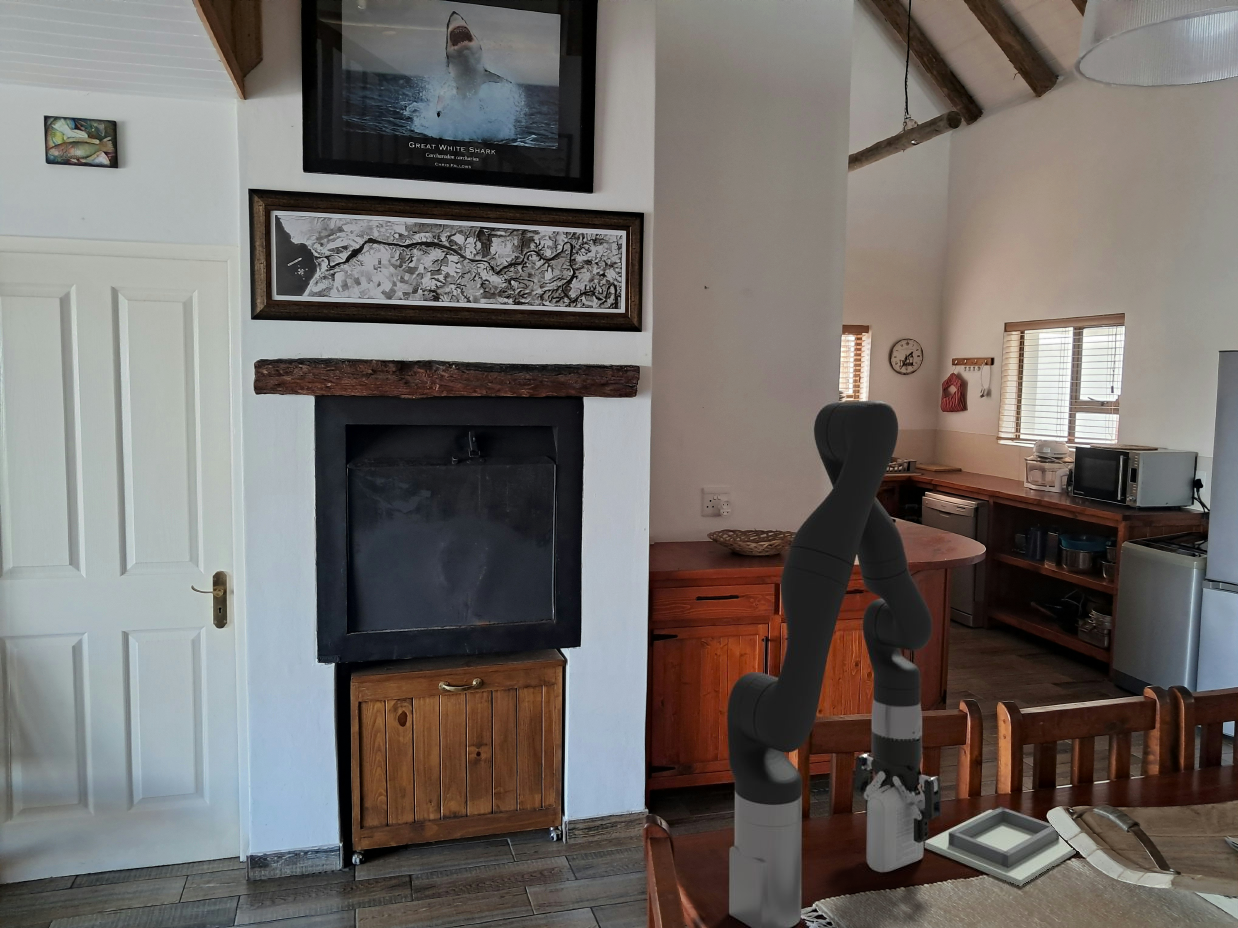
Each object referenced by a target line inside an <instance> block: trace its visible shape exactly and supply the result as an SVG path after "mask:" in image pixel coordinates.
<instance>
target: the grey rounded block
mask: <svg viewBox="0 0 1238 928" xmlns="http://www.w3.org/2000/svg"><path fill="white" fill-rule="evenodd" d="M911 796H912V797H915V794H914V792H912V793H911ZM918 806H919V805H918ZM914 818H916V817H915V815H914V813H913V811H912V809H911V808H910V806H908V805H907V804H906V803H905V801H904V799H903V797H902V795H901V794H900V792H899V791H898V789H897V788H895V787H892V788H891V786H890V785H886V786H884V787H882V788H880V789H879V790H877V791H876V792H874V793H873V794H872V795H871V796H870V798H869V799H868V803H867V818H866V863H867V864H868V866H869V868H871V869H872V870H873V871H875V872H877V873H878V872H879V873H887V872H891V871H894V870H896V869H899V868H902V867H905V866H907V865H911V864H913V863H915V862H917V861H919V860H921V859H922V858H924V845H925V841H923V842H921V843H917V842H915V841H914Z"/></svg>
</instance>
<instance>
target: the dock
mask: <svg viewBox="0 0 1238 928" xmlns="http://www.w3.org/2000/svg"><path fill="white" fill-rule="evenodd" d="M1051 824H1052V823H1048V822H1046V821H1043V820H1040V819H1037V818H1035V817H1031V816H1028V815H1025V814H1023V813H1019V812H1017V811H1014V810H1012V809H1011V810H1010V809H1008V808H1005V807H1002V806H1000V807H997V808H996V809H994V810H992V809H989V810H986V811H985V812H982V813H981V814H978V815H977V816H974V817H972V818H970V819H967V820H966V821H965V822H962V823H960V824H958V825H956V826H954V827H951V828H950V829H947V830H946V831H943V832H941V833H939V834H937V835H935V836H933V837H931V838H929V839H927V840H924V849H927V850H930V851H932V852H935V853H937V854H939V855H942V856H944V857H947V858H950V859H951V860H954V861H957V862H959V863H961V864H964V865H967V866H969V867H972V868H974V869H977V870H979V871H981V872H983V873H986V874H988V875H990V876H994V878H995V877H996V878H998V879H1001V880H1003V881H1005V880H1006V882H1008V883H1010V882H1011V883H1010V884H1012V883H1014V884H1013V885H1015V884H1017V885H1019V886H1018V887H1020V888H1021V887H1023V886H1024V885H1025V884H1024V883H1026V882H1028V881H1029V880H1031V879H1033V878H1034V877H1035V876H1037V875H1039V874H1040V873H1042V872H1044V871H1045V870H1047V869H1049V868H1051V867H1052V866H1054V867H1055V866H1057V865H1059V864H1061V863H1062V862H1064V861H1065V860H1067V859H1069V858H1071V857H1072V856H1074V855H1075V854H1076V851H1075V850H1073V848H1071V847H1070V846H1069V845H1068V844H1067V843H1066V842H1065V841H1064V840H1063V839H1062V838H1061V837H1060V836H1059V834H1060V833H1059V834H1058V833H1057V832H1056V830H1055V829H1054V828H1053V827H1052V826H1051ZM1052 868H1053V867H1052ZM1052 868H1051V869H1052ZM1049 870H1050V869H1049ZM1047 871H1048V870H1047ZM1044 873H1045V872H1044ZM1042 874H1043V873H1042ZM1039 876H1040V875H1039ZM1037 877H1038V876H1037ZM1034 879H1035V878H1034ZM1034 879H1033V880H1034ZM1031 881H1032V880H1031ZM1029 882H1030V881H1029ZM1029 882H1028V883H1029ZM1023 884H1024V885H1023ZM1026 884H1027V883H1026ZM1017 885H1016V886H1017ZM1022 885H1023V886H1022Z"/></svg>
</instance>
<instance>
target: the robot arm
mask: <svg viewBox="0 0 1238 928" xmlns="http://www.w3.org/2000/svg"><path fill="white" fill-rule="evenodd" d="M813 434H814V435H813V437H814V441H815V445H816V449H817V452H818V454H819V458H820V459H821V463H822V464H823V467H824V469H825V471H826V474H827V476H828V478H829V480H830V481H829V482H830V483H831V486H832V489H831V491H830V492H828V493H829V494H828V495H827V496H826V497H825V498H824V499H823V501H822V502H821V503H820V504H819V505H818V506H817V507H816V508H815V510H813V512H812V513H811V514H810V515H809V516H808V517H807V518H806V520H805V521H804V522H803V523H802V525H801V526H800V527H799V528H798V530H797V531H796V533H795V534H794V537H793V539H792V541H791V544H790V546H789V549H788V553H787V557H786V560H785V562H784V566H783V570H782V573H781V576H780V577H781V578H780V595H781V603H782V608H783V614H784V617H785V625H786V632H787V633H786V634H787V640H786V649H785V654H784V658H783V662H782V666H781V670H780V673H779V676H778V677H776V676H773V675H770V674H766V673H763V672H757V671H753V672H752V671H751V672H749V673H745V674H744V675H742V676H740V678H738V680H736V682H735V683H734V684H733V687H732V689H731V691H730V694H729V697H728V702H727V709H726V710H727V711H726V727H727V729H726V730H727V747H728V748H727V749H728V765H729V769H730V773H731V774H732V776H733V780H734V845H733V846H731V847H730V848H729V850H728V851H729V857H728V858H729V865H728V866H729V869H728V870H729V873H728V875H729V878H728V879H729V886H728V887H729V888H728V889H729V894H728V896H729V897H728V898H729V902H728V905H729V907H728V908H729V909H728V910H729V911H728V912H729V915H730V916H732V917H733V918H735V919H737V920H738V921H740V922H742V923H743V924H745V925H746V926H749V927H750V928H792V927H794V926H796V925H797V924H798V923H799V922H800V921H801V918H802V822H803V821H802V814H803V812H802V810H803V809H802V808H803V807H802V805H803V800H802V799H803V796H802V795H803V794H802V793H803V781H802V779H803V778H802V775H801V773H800V771H799V769H798V768H797V767H796V766H795V765H794V764H793V763H792V762H791V760H790V759H789V758H788V757H787V755H786V754H785V753H787V754H789V753H793V752H795V751H796V750H799V749H800V748H801V747H802V746H803V745H804V744H805V743H806V741H807V739H808V738H809V736H810V734H811V731H812V730H813V727H814V724H815V721H816V718H817V713H818V710H819V704H820V697H821V693H822V690H823V689H822V688H823V683H824V678H825V672H826V667H827V664H828V663H827V661H828V656H829V652H830V650H831V644H832V641H833V637H834V633H835V629H836V625H837V622H838V618H839V614H840V611H841V608H842V605H843V602H844V599H845V596H846V593H847V590H848V587H849V584H850V580H851V578H852V577H851V576H852V573H853V570H854V567H855V562H856V560H857V561H858V564H859V565H858V566H859V569H860V573H861V579H862V582H863V584H864V587H865V588H866V589H867V590H868V592H870V593H872V594H874V595H876V596H878V597H880V598H877V599H874V600H873V601H871V602H870V603H869V604H868V605H867V607H866V609H865V611H864V613H863V618H862V633H863V639H864V642H865V646H866V650H867V654H868V659H869V661H870V666H871V669H872V672H873V684H872V685H873V688H872V690H873V695H872V698H873V700H872V701H873V702H872V708H871V709H872V710H871V754H870V753H869V752H865V753H862V754H860V755H859V754H858V755H857V756H856V757H855V762H854V763H855V766H854V767H855V768H854V790H855V792H856V793H860V794H861V795H862V796H863V798H864V800H865V811H864V813H865V817H866V819H867V803H868V799H869V798H870V796H871V795H872V794H873V793H874V792H876V791H877V790H879V789H880V788H882V787H884V786H886V785H890V786H891V788H892V787H895V788H897V789H898V791H899V792H900V794H901V795H902V797H903V799H904V801H905V803H906V804H907V805H908V806H910V808H911V809H912V811H913V813H914V815H915V817H916V818H914V841H915V842H917V843H921V842H925V841H926V839H928V837H929V836H930V835H929V831H930V830H929V826H930V825H929V823H930V822H929V821H931V820H933V819H934V818H937V817H939V816H941V815H942V798H941V797H942V794H941V779H940V777H939V776H937V775H934V776H928V775H924V774H923V773H922V770H921V764H922V760H923V759H922V758H923V713H922V706H921V689H922V688H921V671H920V669H919V668H918V666H917V665H916V664H914V662H911V661H910V660H909V659H907V658H905V657H904V655H903V654H902V651H901V649H902V650H905V651H910V652H912V651H913V652H915V651H920V650H921V649H923V648H925V647H926V646H927V645H928V643H929V642H930V640H931V638H932V633H933V619H932V614H931V612H930V609H929V607H928V605H927V603H926V601H925V599H924V597H923V596H922V593H921V591H920V589H919V588H918V585H917V584H916V582H915V580H914V579H913V577H912V575H911V574H910V569H909V563H908V560H907V555H906V552H905V547H904V542H903V539H902V536H901V533H900V531H899V529H898V527H897V525H896V524H895V522H894V520H893V518H892V517H891V516H890V515H889V513H888V512H887V510H886V509H885V508H884V506H883V505H882V503H881V502H880V501H879V499H878V498H877V494H878V492H879V490H880V486H881V485H882V482H883V480H884V477H885V475H886V473H887V470H888V467H889V466H890V463H891V461H892V458H893V455H894V452H895V449H896V445H897V441H898V434H899V422H898V417H897V414H896V411H895V410H894V409H893V407H892V406H891V405H890V404H888V403H887V402H885V401H881V400H853V401H850V400H849V401H838V402H832V403H828V404H826V405H824V406H823V407H822V408H821V409H820V410H819V412H818V413H817V416H816V418H815V420H814V425H813ZM856 558H857V559H856ZM871 770H872V771H873V773H874V775H875V778H874V779H873V780H872V782H871ZM920 785H921V786H922V787H921V786H920ZM923 791H924V792H923ZM912 792H914V794H915V797H912V796H911V793H912ZM918 805H919V806H918Z"/></svg>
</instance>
